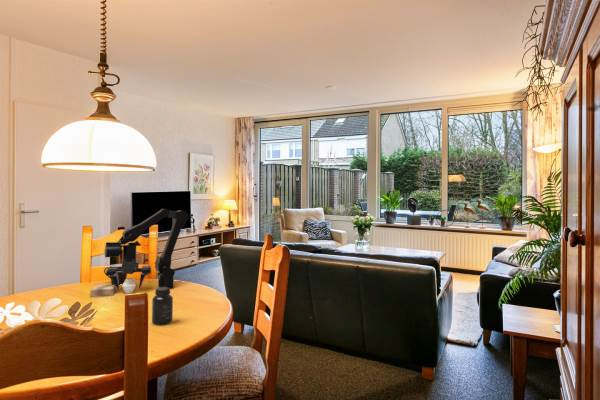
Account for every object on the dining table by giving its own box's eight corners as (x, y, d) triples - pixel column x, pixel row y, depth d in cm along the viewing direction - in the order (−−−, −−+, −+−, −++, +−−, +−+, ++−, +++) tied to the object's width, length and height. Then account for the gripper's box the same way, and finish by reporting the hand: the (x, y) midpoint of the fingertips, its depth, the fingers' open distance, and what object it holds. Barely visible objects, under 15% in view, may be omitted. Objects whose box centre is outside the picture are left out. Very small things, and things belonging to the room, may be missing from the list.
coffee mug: (131, 284, 185) (131, 265, 186) (115, 287, 178) (115, 267, 178) (118, 281, 192) (118, 262, 192) (102, 284, 184) (102, 265, 184)
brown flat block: (115, 291, 171) (116, 284, 171) (113, 295, 162) (113, 288, 162) (94, 292, 168) (94, 285, 168) (90, 297, 159) (90, 289, 159)
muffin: (119, 292, 169) (119, 277, 169) (132, 290, 173) (132, 275, 174) (125, 294, 165) (125, 279, 165) (138, 292, 169) (138, 277, 170)
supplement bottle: (147, 323, 126) (148, 288, 126) (164, 318, 132) (165, 285, 132) (159, 327, 122) (160, 291, 122) (176, 321, 128) (177, 287, 128)
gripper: (104, 259, 159) (103, 294, 158) (150, 257, 165) (149, 291, 165) (108, 255, 169) (107, 289, 169) (151, 254, 175) (150, 286, 175)
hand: (129, 289), depth 169 cm, fingers open, 9 cm apart
